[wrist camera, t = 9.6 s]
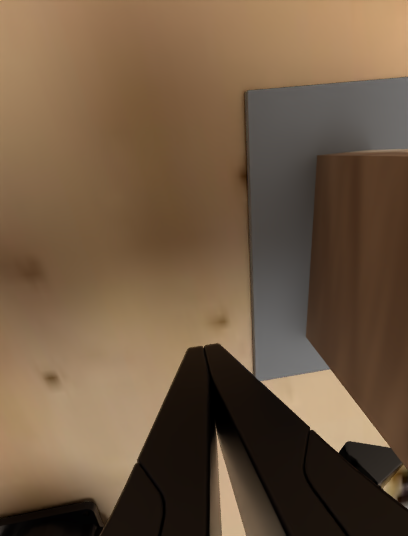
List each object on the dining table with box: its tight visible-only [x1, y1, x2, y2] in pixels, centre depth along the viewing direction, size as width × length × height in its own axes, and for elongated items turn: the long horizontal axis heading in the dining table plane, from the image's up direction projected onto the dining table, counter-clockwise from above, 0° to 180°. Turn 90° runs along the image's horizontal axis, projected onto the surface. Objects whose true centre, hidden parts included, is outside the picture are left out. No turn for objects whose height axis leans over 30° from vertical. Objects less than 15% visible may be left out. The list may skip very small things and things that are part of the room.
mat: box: [245, 77, 408, 381], centre depth 14 cm, size 14×14×1 cm
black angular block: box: [339, 441, 403, 490], centre depth 20 cm, size 13×8×5 cm, turn 159°
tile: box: [306, 149, 408, 469], centre depth 10 cm, size 2×9×7 cm, turn 5°
